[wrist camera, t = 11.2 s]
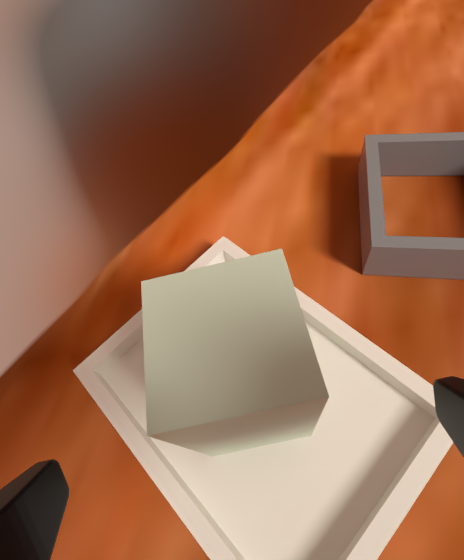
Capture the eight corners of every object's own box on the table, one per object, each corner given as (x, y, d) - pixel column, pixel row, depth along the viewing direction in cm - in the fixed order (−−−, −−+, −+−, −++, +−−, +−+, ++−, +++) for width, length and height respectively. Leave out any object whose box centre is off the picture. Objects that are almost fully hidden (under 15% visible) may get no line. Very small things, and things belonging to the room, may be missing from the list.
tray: (453, 420, 17) (471, 413, 15) (297, 655, 13) (298, 680, 12) (228, 253, 24) (223, 236, 22) (90, 379, 21) (72, 370, 19)
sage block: (311, 435, 17) (329, 396, 9) (212, 456, 17) (146, 436, 9) (285, 341, 19) (281, 248, 12) (200, 360, 19) (140, 281, 12)
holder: (537, 283, 20) (574, 253, 17) (362, 274, 22) (371, 246, 19) (498, 167, 24) (523, 130, 22) (357, 168, 26) (364, 134, 24)
